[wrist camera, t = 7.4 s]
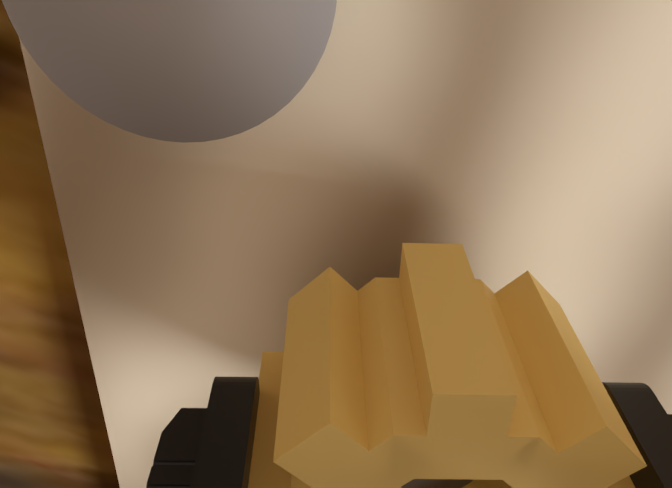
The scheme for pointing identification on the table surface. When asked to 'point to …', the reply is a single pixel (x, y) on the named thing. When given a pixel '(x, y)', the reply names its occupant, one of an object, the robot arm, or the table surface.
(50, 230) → the table surface
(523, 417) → the gear
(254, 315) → the gear board
